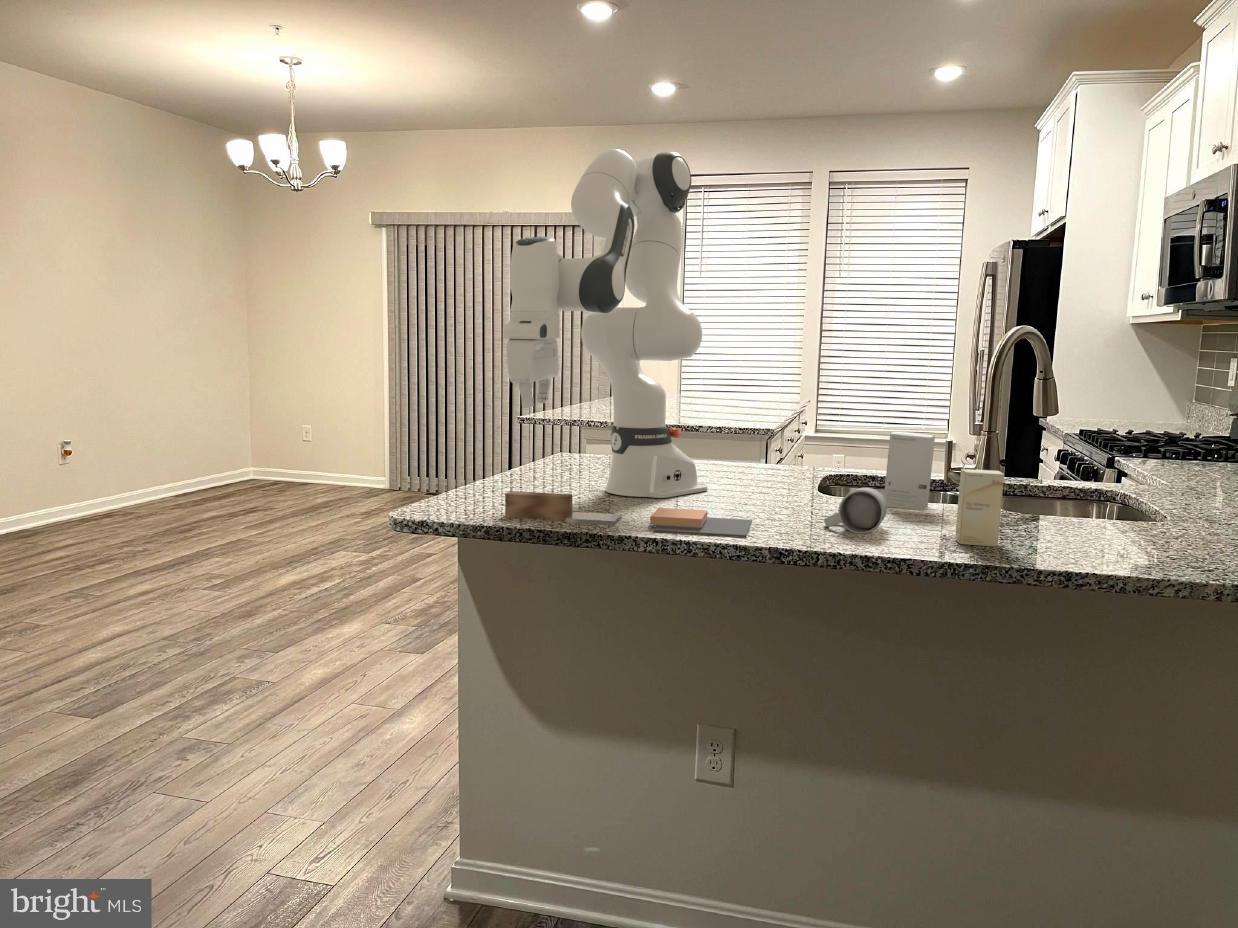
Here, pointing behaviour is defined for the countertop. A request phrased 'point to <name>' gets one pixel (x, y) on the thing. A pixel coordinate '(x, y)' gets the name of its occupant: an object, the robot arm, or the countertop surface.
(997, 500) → the skincare box
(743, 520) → the mat
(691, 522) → the tile
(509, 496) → the turner
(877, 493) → the ceramic mug
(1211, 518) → the countertop surface
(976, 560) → the countertop surface
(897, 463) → the skincare box
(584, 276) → the robot arm
